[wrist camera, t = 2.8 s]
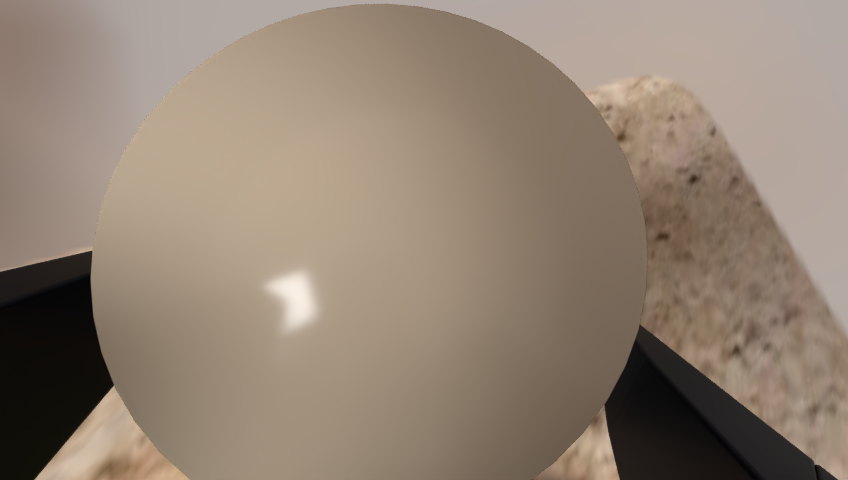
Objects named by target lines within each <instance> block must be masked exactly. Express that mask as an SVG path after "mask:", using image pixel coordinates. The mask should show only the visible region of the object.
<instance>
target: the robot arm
mask: <svg viewBox="0 0 848 480" xmlns="http://www.w3.org/2000/svg"><path fill="white" fill-rule="evenodd" d="M92 252H93V251H89V252H84V253H80V254H76V255H71V256H67V257H62V258H58V259H54V260H49V261H45V262H41V263H36V264H32V265H28V266H23V267H19V268H15V269H10V270H6V271H2V272H0V480H35V478H36V477H37V476H38V475H39V474H40V472H41V471H42V470H43V469H44V468H45V467H46V465H47V464H48V463H49V462H50V461H51V459H52V458H53V457H54V456H55V455H56V454H57V452H58V451H59V450H60V449H61V448H62V446H63V445H64V444H65V443H66V442H67V440H68V439H69V438H70V437H71V436H72V435H73V433H74V432H75V431H76V430H77V429H78V427H79V426H80V425H81V424H82V423H83V422H84V420H85V419H86V418H87V417H88V416H89V414H90V413H91V412H92V411H93V410H94V408H95V407H96V406H97V405H98V404H99V403H100V401H101V400H102V399H103V398H104V397H105V395H106V394H107V393H108V392H109V391H110V390H111V388H112V387H113V386H114V383H113V381H112V378H111V375H110V373H109V370H108V368H107V365H106V363H105V360H104V357H103V355H102V352H101V348H100V344H99V339H98V335H97V330H96V326H95V321H94V317H93V305H92V292H91V266H92ZM604 405H605V413H606V420H607V427H608V432H609V437H610V441H611V445H612V449H613V453H614V458H615V462H616V466H617V470H618V474H619V478H620V480H837V479H836V478H835V477H834V476H832V475H831V474H830V473H829V472H827V471H826V470H825V469H824V468H822V467H821V466H820V465H815V464H814V461H813V460H812V459H811V458H809V457H808V456H807V455H806V454H804V453H803V452H802V451H800V450H799V449H798V448H797V447H795V446H794V445H793V444H791V443H790V442H789V441H788V440H786V439H785V438H784V437H783V436H781V435H780V434H779V433H777V432H776V431H775V430H774V429H772V428H771V427H770V426H769V425H767V424H766V423H765V422H763V421H762V420H761V419H760V418H758V417H757V416H756V415H754V414H753V413H752V412H751V411H749V410H748V409H747V408H746V407H744V406H743V405H742V404H740V403H739V402H738V401H737V400H735V399H734V398H733V397H732V396H730V395H729V394H728V393H726V392H725V391H724V390H723V389H721V388H720V387H719V386H718V385H716V384H715V383H714V382H712V381H711V380H710V379H709V378H707V377H706V376H705V375H703V374H702V373H701V372H700V371H698V370H697V369H696V368H695V367H693V366H692V365H691V364H689V363H688V362H687V361H686V360H684V359H683V358H682V357H681V356H679V355H678V354H677V353H675V352H674V351H673V350H672V349H670V348H669V347H668V346H667V345H665V344H664V343H663V342H661V341H660V340H659V339H658V338H656V337H655V336H654V335H653V334H651V333H650V332H649V331H647V330H646V329H645V328H644V327H642V326H641V325H640V324H639V329H638V332H637V335H636V338H635V341H634V344H633V346H632V349H631V352H630V355H629V357H628V360H627V363H626V366H625V368H624V370H623V371H622V373H621V375H620V377H619V379H618V381H617V383H616V385H615V387H614V388H613V390H612V392H611V394H610V396H609V398H608V400H607V401H606V403H605V404H604Z"/></svg>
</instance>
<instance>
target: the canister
mask: <svg viewBox="0 0 848 480" xmlns="http://www.w3.org/2000/svg"><path fill="white" fill-rule="evenodd" d="M647 266H648V253H647V239H646V226H645V220H644V216H643V211H642V206H641V202H640V197H639V192H638V189H637V186H636V184H635V181H634V178H633V175H632V172H631V170H630V167H629V164H628V161H627V159H626V157H625V155H624V153H623V151H622V149H621V147H620V145H619V144H618V142H617V140H616V138H615V136H614V134H613V132H612V131H611V129H610V128H609V126H608V125H607V123H606V122H605V120H604V119H603V117H602V116H601V114H600V113H599V111H598V110H597V108H596V107H595V106H594V105H593V104H592V102H591V101H590V100H589V99H588V98H587V97H586V96H585V94H584V93H583V92H582V91H581V90H580V89H579V88H578V87H577V85H576V84H575V83H574V82H573V81H572V80H570V79H569V78H568V77H567V76H566V75H565V74H564V73H562V71H560V70H559V69H558V68H557V67H556V66H555V65H554V64H553V63H551V62H549V61H548V60H547V59H546V58H544V57H543V56H541V55H540V54H539V53H537V52H536V51H534V50H533V49H531V48H530V47H529V46H527V45H525V44H523V43H522V42H520V41H518V40H516V39H514V38H513V37H511V36H509V35H507V34H505V33H504V32H502V31H499V30H497V29H494V28H492V27H490V26H487V25H485V24H482V23H480V22H478V21H475V20H472V19H469V18H466V17H462V16H459V15H455V14H452V13H449V12H444V11H440V10H434V9H429V8H423V7H418V6H407V5H406V6H405V5H393V4H364V5H351V6H343V7H336V8H327V9H323V10H318V11H314V12H310V13H306V14H302V15H297V16H295V17H291V18H288V19H286V20H283V21H280V22H277V23H274V24H271V25H268V26H266V27H264V28H262V29H260V30H258V31H255V32H253V33H251V34H249V35H247V36H245V37H242V38H240V39H239V40H237V41H235V42H234V43H232V44H230V45H229V46H227V47H225V48H224V49H222V50H220V51H219V52H217V53H216V54H214V55H213V56H211V57H210V58H209V59H207V60H206V61H204V62H203V63H202V64H200V65H199V66H198V67H196V68H195V69H194V70H193V71H191V72H190V73H189V74H188V75H187V76H185V77H184V78H183V79H182V80H181V81H180V82H179V83H178V84H177V85H176V86H175V87H174V88H173V89H172V90H171V91H170V92H168V93H167V94H166V95H165V97H164V98H163V99H162V100H161V101H160V103H159V104H158V105H157V106H156V107H155V109H154V110H153V111H152V112H151V113H150V114H149V115H148V117H147V118H146V119H145V121H144V122H143V123H142V125H141V126H140V128H139V129H138V131H137V132H136V134H135V136H134V137H133V138H132V140H131V141H130V143H129V145H128V146H127V148H126V149H125V152H124V153H123V156H122V157H121V160H120V161H119V163H118V165H117V167H116V169H115V172H114V174H113V175H112V178H111V180H110V183H109V186H108V189H107V192H106V195H105V198H104V200H103V203H102V206H101V209H100V213H99V218H98V223H97V227H96V232H95V237H94V242H93V252H92V266H91V292H92V305H93V317H94V321H95V326H96V330H97V335H98V339H99V344H100V348H101V352H102V355H103V357H104V360H105V363H106V365H107V368H108V370H109V373H110V375H111V378H112V381H113V383H114V386H115V388H116V390H117V391H118V393H119V395H120V397H121V398H122V400H123V402H124V404H125V405H126V407H127V409H128V410H129V412H130V414H131V416H132V417H133V419H134V421H135V422H136V423H137V425H138V426H139V427H140V428H141V430H142V431H143V432H144V433H145V434H146V436H147V437H148V438H149V439H150V441H151V442H152V443H153V444H154V446H155V447H156V448H157V449H158V450H159V452H160V453H161V454H162V455H164V456H165V457H166V458H167V459H168V460H169V461H170V462H171V463H172V464H174V465H175V466H176V467H177V468H178V469H179V470H180V471H181V472H182V473H184V474H185V475H186V476H187V477H188V478H189V479H190V480H532V479H533V478H534V477H536V476H537V475H538V474H540V473H541V472H542V471H544V470H545V469H546V468H548V467H549V466H550V465H552V464H553V463H554V462H555V461H556V460H557V459H558V458H559V457H560V456H561V455H562V454H563V453H564V452H565V451H566V450H567V449H568V448H569V447H570V446H571V445H572V444H573V443H574V442H575V441H576V440H577V439H578V438H579V437H580V436H581V435H582V434H583V433H584V431H585V430H586V429H587V427H588V426H589V424H590V423H591V422H592V420H593V419H594V418H595V416H596V415H597V414H598V412H599V411H600V409H601V408H602V407H603V405H604V404H605V403H606V401H607V400H608V398H609V396H610V394H611V392H612V390H613V388H614V387H615V385H616V383H617V381H618V379H619V377H620V375H621V373H622V371H623V370H624V368H625V366H626V363H627V360H628V357H629V355H630V352H631V349H632V346H633V344H634V341H635V338H636V335H637V332H638V329H639V324H640V320H641V315H642V310H643V305H644V300H645V295H646V282H647Z"/></svg>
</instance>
